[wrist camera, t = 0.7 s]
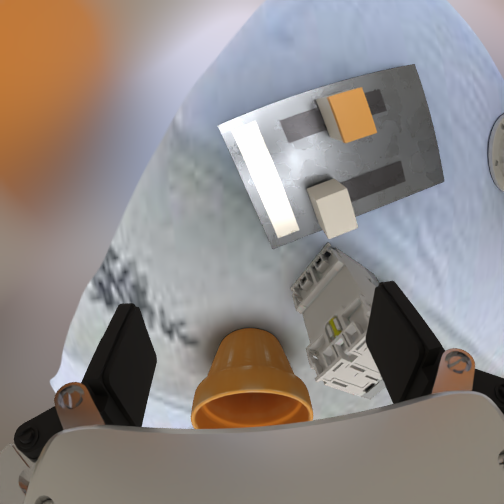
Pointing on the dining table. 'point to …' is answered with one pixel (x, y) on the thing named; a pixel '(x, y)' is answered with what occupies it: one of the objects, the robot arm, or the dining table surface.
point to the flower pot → (250, 385)
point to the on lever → (332, 208)
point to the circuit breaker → (339, 322)
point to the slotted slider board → (334, 152)
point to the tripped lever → (347, 115)
